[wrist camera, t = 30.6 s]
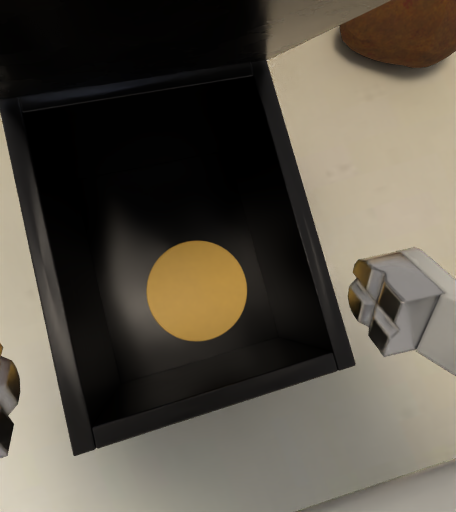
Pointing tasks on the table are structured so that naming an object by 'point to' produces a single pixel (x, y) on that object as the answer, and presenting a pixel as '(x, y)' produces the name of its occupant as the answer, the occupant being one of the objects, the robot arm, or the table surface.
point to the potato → (404, 32)
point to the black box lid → (150, 37)
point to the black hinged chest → (168, 245)
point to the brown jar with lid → (196, 290)
